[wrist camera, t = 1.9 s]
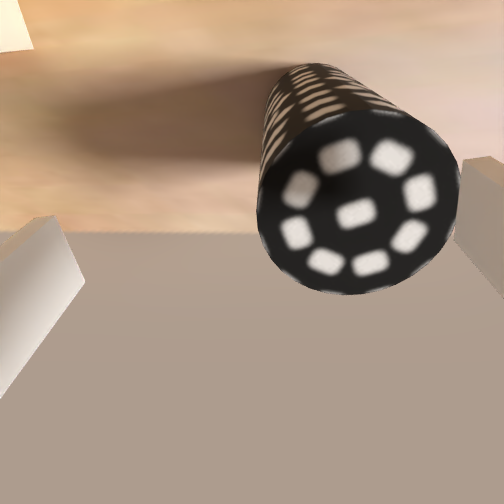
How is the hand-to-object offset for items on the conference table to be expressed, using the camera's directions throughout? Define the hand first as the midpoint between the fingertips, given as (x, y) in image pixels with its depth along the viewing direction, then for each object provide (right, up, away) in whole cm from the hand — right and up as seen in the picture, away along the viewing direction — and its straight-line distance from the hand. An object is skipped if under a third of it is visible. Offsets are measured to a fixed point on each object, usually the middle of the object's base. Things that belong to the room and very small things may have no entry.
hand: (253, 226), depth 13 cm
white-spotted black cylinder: (+5, +11, +21) cm, 24 cm away
